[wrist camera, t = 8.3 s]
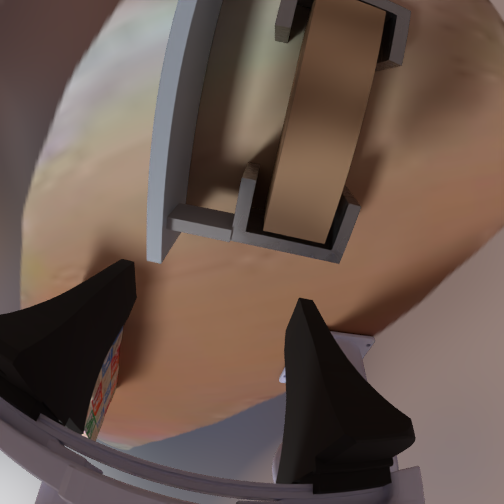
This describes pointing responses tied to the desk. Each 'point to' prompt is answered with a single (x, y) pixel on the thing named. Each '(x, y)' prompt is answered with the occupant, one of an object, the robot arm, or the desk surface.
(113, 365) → the stack of blocks
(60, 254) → the desk surface
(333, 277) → the desk surface
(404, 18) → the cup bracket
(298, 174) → the rail
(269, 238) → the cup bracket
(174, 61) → the backboard
